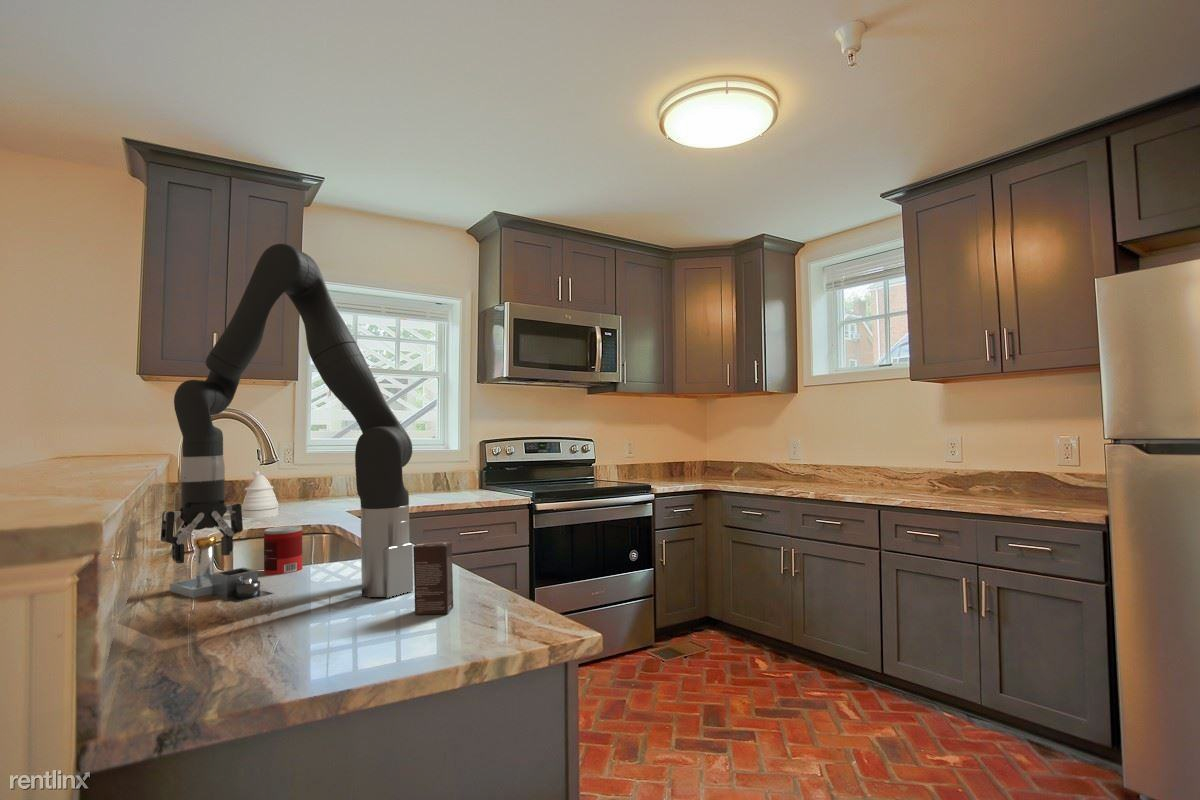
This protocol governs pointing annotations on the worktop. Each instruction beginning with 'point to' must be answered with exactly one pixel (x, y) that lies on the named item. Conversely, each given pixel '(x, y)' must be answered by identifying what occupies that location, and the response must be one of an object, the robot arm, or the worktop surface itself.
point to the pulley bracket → (237, 585)
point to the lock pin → (204, 560)
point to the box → (433, 578)
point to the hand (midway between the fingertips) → (203, 558)
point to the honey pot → (259, 499)
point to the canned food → (282, 550)
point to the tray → (186, 589)
